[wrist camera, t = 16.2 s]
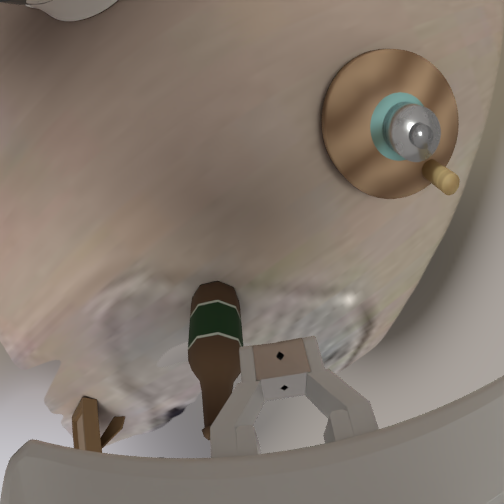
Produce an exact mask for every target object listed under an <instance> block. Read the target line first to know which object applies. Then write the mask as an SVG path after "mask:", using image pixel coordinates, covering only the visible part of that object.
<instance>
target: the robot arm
mask: <svg viewBox="0 0 504 504" xmlns="http://www.w3.org/2000/svg"><path fill="white" fill-rule="evenodd" d="M116 1H118V0H0V2H3V3H10V4H19V5H25V6H28V7H31V8H38V9H40V10H42V11H44V12H45V13H47V14H48V15H50V16H51V17H53V18H55V19H58V20H61V21H77V20H82V19H86V18H89V17H91V16H94V15H96V14H98V13H100V12H102V11H104V10H105V9H107V8H108V7H110V6H111V5H112V4H114V3H115V2H116ZM239 355H240V368H241V380H242V383H238V384H237V386H236V387H235V389H234V390H233V392H232V394H231V395H230V397H229V398H228V400H227V402H226V403H225V405H224V406H223V408H222V410H221V411H220V413H219V414H218V416H217V417H216V419H215V421H214V422H213V424H212V425H211V427H210V442H211V458H152V457H151V458H150V457H136V456H124V455H114V454H107V453H100V452H93V451H86V450H81V449H75V448H70V447H64V446H60V445H55V444H51V443H46V442H42V441H39V440H29V441H28V442H26V443H25V444H24V445H23V446H22V447H21V448H20V449H18V451H17V452H16V453H15V454H14V455H13V456H12V457H11V458H10V460H9V463H8V466H7V469H6V472H5V476H4V481H3V487H2V494H1V501H0V504H504V376H502V377H500V378H498V379H497V380H495V381H493V382H491V383H489V384H487V385H486V386H484V387H482V388H480V389H478V390H476V391H474V392H472V393H470V394H468V395H466V396H464V397H462V398H460V399H458V400H455V401H453V402H451V403H449V404H446V405H444V406H442V407H439V408H437V409H435V410H432V411H430V412H427V413H425V414H422V415H419V416H417V417H414V418H412V419H409V420H406V421H403V422H400V423H397V424H395V425H392V426H388V427H385V428H382V429H378V425H377V422H376V419H375V416H374V413H373V410H372V407H371V404H370V401H368V400H367V399H366V398H364V397H363V396H362V395H361V394H360V393H358V392H357V391H356V390H354V389H353V388H352V387H351V386H349V385H348V384H347V383H346V382H344V381H343V380H342V379H341V378H340V377H338V376H337V375H336V374H335V373H333V372H332V371H331V370H330V369H325V367H324V364H323V360H322V357H321V353H320V350H319V346H318V343H317V340H316V337H315V336H311V337H305V338H298V339H292V340H286V341H281V342H277V343H269V344H261V345H253V346H245V347H240V348H239ZM302 395H306V397H307V398H308V399H309V400H310V401H311V402H312V403H313V404H314V405H315V406H316V407H317V408H318V409H319V410H320V411H321V412H322V413H323V414H324V415H325V416H326V417H327V418H328V423H327V426H326V429H325V432H324V440H325V444H320V445H315V446H310V447H305V448H299V449H294V450H288V451H281V452H273V453H266V454H261V449H260V444H259V441H258V438H257V434H256V431H255V428H254V427H253V425H254V423H255V421H256V419H257V417H258V415H259V413H260V411H261V409H262V407H263V405H264V401H270V400H276V399H282V398H289V397H295V396H302Z"/></svg>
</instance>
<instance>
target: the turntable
mask: <svg viewBox="0 0 504 504" xmlns="http://www.w3.org/2000/svg"><path fill="white" fill-rule="evenodd" d="M405 101H406V102H412V103H415V104H418V105H421V106H423V107H426V108H428V109H430V110H431V111H432V112H433V113H434V114H435V115H436V117H437V118H438V121H439V123H440V128H441V138H440V142H439V145H438V147H437V149H436V151H435V152H434V153H433V155H432V156H430V157H429V158H428V159H426V160H424V161H421V162H411V161H408V160H406V159H405V158H403V157H402V156H400V155H399V154H397V153H396V152H394V151H393V150H391V149H390V148H389V147H388V145H387V144H386V142H385V140H384V137H383V131H382V126H383V121H384V118H385V115H386V113H387V112H388V110H389V109H390V108H391V107H392V106H394V105H395V104H397V103H399V102H405ZM322 133H323V139H324V143H325V146H326V149H327V152H328V154H329V156H330V158H331V160H332V162H333V163H334V165H335V166H336V168H337V169H338V170H339V171H340V173H341V174H342V175H343V176H344V177H345V178H346V179H347V180H348V181H349V182H350V183H351V184H352V185H353V186H355V187H356V188H358V189H359V190H361V191H362V192H364V193H366V194H368V195H371V196H374V197H378V198H384V199H396V198H402V197H406V196H410V195H412V194H415V193H417V192H419V191H421V190H422V189H424V188H425V187H427V186H428V185H430V184H431V183H432V184H433V185H435V186H436V187H437V188H438V189H440V190H441V191H442V192H443V193H445V194H446V195H452V194H454V193H455V192H456V190H457V189H458V187H459V177H458V176H457V175H456V174H455V173H453V172H452V171H451V170H449V169H448V168H446V165H447V164H448V162H449V160H450V158H451V156H452V153H453V151H454V148H455V144H456V141H457V135H458V110H457V105H456V101H455V97H454V95H453V92H452V90H451V88H450V86H449V84H448V82H447V80H446V79H445V78H444V76H443V75H442V73H441V72H440V71H439V70H438V69H437V68H436V67H435V66H434V65H433V64H432V63H430V62H429V61H428V60H426V59H425V58H423V57H421V56H419V55H417V54H415V53H412V52H409V51H405V50H398V49H378V50H373V51H369V52H366V53H363V54H361V55H359V56H357V57H355V58H354V59H352V60H351V61H350V62H348V63H347V64H346V65H345V66H344V67H343V68H342V69H341V70H340V71H339V72H338V73H337V75H336V76H335V78H334V79H333V81H332V83H331V85H330V87H329V89H328V91H327V94H326V97H325V100H324V104H323V109H322Z"/></svg>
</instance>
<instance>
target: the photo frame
mask: <svg viewBox="0 0 504 504" xmlns="http://www.w3.org/2000/svg"><path fill="white" fill-rule="evenodd" d="M124 420H125V416H122V417H114V418H113V419H112V421H111V423H110V424H109V426H108V427H107V429H106V430H105V432H104V433H103V435H102V436H101V438H100V431H99V420H98V408H97V400H96V399H90V398H84V397H83V398H82V399H81V401H80V403H79V405H78V407H77V409H76V410H75V412H74V414H73V416H72V429H73V441H74V448H75V449H81V450H86V451H93V452H100V453H102V448H103V447H104V446H105V445H106V444H107V443H108V442H109V441H110V440H111V439H112V438H113V437H114V436H115V435H116V434H117V433H118V432H119V431H120V430H121V429H122V428H123V424H124Z"/></svg>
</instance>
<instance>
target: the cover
mask: <svg viewBox="0 0 504 504" xmlns="http://www.w3.org/2000/svg"><path fill="white" fill-rule="evenodd" d="M382 131H383V137H384V140H385V142H386V144H387V145H388V147H389V148H390V149H391V150H393V151H394V152H396V153H397V154H399V155H400V156H402V157H403V158H405V159H406V160H408V161H411V162H421V161H424V160H426V159H428V158H429V157H430V156H432V155H433V153H434V152H435V151H436V149H437V147H438V145H439V142H440V138H441V128H440V123H439V121H438V118H437V117H436V115H435V114H434V113H433V112H432V111H431V110H430V109H428V108H426V107H423V106H421V105H418V104H415V103H412V102H406V101H405V102H399V103H397V104H395V105H394V106H392V107H391V108H390V109H389V110H388V112H387V113H386V115H385V118H384V121H383V126H382Z"/></svg>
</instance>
